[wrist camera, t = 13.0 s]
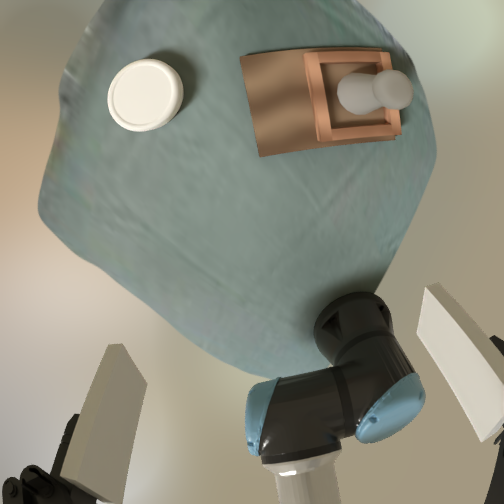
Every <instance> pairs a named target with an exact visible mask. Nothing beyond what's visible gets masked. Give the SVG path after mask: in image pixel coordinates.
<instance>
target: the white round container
mask: <svg viewBox="0 0 504 504" xmlns="http://www.w3.org/2000/svg"><path fill="white" fill-rule="evenodd" d="M182 100H183V84H182V81H181V78H180V76H179V75H178V73H177V72H176V71H175V70H174V69H173V68H172V67H170V66H169V65H168V64H166V63H164V62H162V61H160V60H156V59H142V60H138V61H135V62H133V63H130V64H129V65H127V66H125V67H124V68H123V69H122V70H121V71H120V72H119V73H118V74H117V75H116V76H115V78H114V79H113V81H112V83H111V85H110V88H109V92H108V107H109V110H110V113H111V115H112V117H113V118H114V120H115V121H116V122H117V123H118V124H119V125H120V126H122V127H124V128H126V129H128V130H131V131H148V130H153V129H156V128H159V127H161V126H163V125H165V124H166V123H168V122H169V121H170V120H171V119H172V118H173V117H174V116H175V115H176V113H177V112H178V110H179V108H180V106H181V103H182Z"/></svg>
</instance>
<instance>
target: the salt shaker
mask: <svg viewBox="0 0 504 504" xmlns="http://www.w3.org/2000/svg"><path fill="white" fill-rule="evenodd" d="M413 92H414V91H413V87H412V84H411V82H410V80H409V79H408V77H407V76H406V75H405V74H403V73H402V72H400V71H398V70H390V69H387V70H384V71H382V72H380V73H378V74H377V75H371V74H363V73H350V74H348V75H346V76H344V77H343V78H342V79H341V81H340V82H339V84H338V88H337V95H338V98H339V101H340V103H341V105H342V106H343V107H344V108H345V109H346V110H347V111H349V112H351V113H353V114H356V115H366V114H368V113H370V112H372V111H374V110H376V109H379V108H381V107H386V108H388V109H396V110H400V109H403V108H405V107H407V106H409V104H410V103H411V101H412V99H413Z"/></svg>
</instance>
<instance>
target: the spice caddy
mask: <svg viewBox="0 0 504 504" xmlns="http://www.w3.org/2000/svg"><path fill="white" fill-rule="evenodd" d="M240 63H241V68H242V73H243V77H244V82H245V87H246V92H247V97H248V102H249V107H250V111H251V116H252V122H253V127H254V132H255V137H256V142H257V147H258V152H259V156H260V157H264V156H270V155H276V154H281V153H288V152H294V151H300V150H307V149H314V148H322V147H329V146H337V145H346V144H355V143H365V142H376V141H389V140H395V135H402V134H401V124H400V115H399V110H396V109H388V108H386V107H381V108H379V109H376V110H374V111H372V112H370V113H368V114H366V115H356V114H353V113H351V112H349V111H347V110H346V109H345V108H344V107H343V106H342V105H341V103H340V101H339V98H338V95H337V88H338V84H339V82H340V81H341V79H342V78H343V77H344V76H346V75H348V74H350V73H363V74H371V75H377V74H378V73H380V72H382V71H384V70H387V69H390V70H393V69H392V64H391V59H390V54H389V52H382V49H381V48H362V47H334V48H310V49H296V50H286V51H276V52H268V53H261V54H254V55H248V56H242V57H240Z"/></svg>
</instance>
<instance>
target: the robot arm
mask: <svg viewBox="0 0 504 504" xmlns="http://www.w3.org/2000/svg"><path fill="white" fill-rule="evenodd" d="M417 335H418V337H419V338H420V340H421V341H422V343H423V344H424V346H425V347H426V349H427V350H428V352H429V353H430V355H431V356H432V358H433V359H434V361H435V363H436V364H437V366H438V367H439V369H440V370H441V372H442V374H443V375H444V377H445V379H446V380H447V382H448V384H449V385H450V387H451V388H452V390H453V392H454V394H455V395H456V397H457V399H458V401H459V402H460V404H461V406H462V408H463V409H464V411H465V413H466V415H467V417H468V418H469V420H470V422H471V424H472V426H473V428H474V430H475V432H476V433H477V435H478V437H479V439H480V441H481V442H482V441H484V440H486V439H487V438H489V437H490V436H491V435H493V434H495V433H496V432H497V431H498V430H499V428H500V427H501V426H503V427H504V341H503V340H501V339H499V338H498V337H496V336H495V335H494V336H492V337H490V338H488V337H487V335H486V334H485V333H484V332H483V331H482V329H481V328H480V327H479V326H478V325H477V324H476V322H475V321H474V320H473V319H472V318H471V317H470V316H469V314H468V313H467V312H466V311H465V310H464V309H463V308H462V307H461V306H460V305H459V303H458V302H457V301H456V300H455V299H454V298H453V297H452V296H451V295H450V294H449V293H448V292H447V291H446V290H445V289H444V287H443V286H442V285H441V284H440V283H436V284H432V285H429V286H425V291H424V297H423V303H422V309H421V314H420V319H419V324H418V329H417ZM314 338H315V341H316V344H317V347H318V349H319V351H320V352H321V353H322V354H323V355H324V356H325V357H326V359H327V360H328V361H329V362H330V363H331V364H332V365H333V367H329V368H325V369H321V370H317V371H313V372H308V373H304V374H299V375H294V376H289V377H284V378H281V377H278V378H276V379H274V380H270V381H266V382H261V383H258V384H256V385H254V386H253V387H252V388H251V390H250V391H249V394H248V397H247V403H246V411H245V432H246V439H247V443H248V450H249V452H250V453H251V454H252V455H255V456H260V455H261V459H262V465H263V467H265V468H266V469H268V470H269V471H271V472H272V473H273V474H275V479H276V485H277V491H278V497H279V503H280V504H341V500H340V495H339V488H338V483H337V477H336V472H335V467H334V462H335V460H336V459H337V457H338V456H339V454H340V453H341V451H342V448H341V443H340V439H343V438H346V437H350V436H353V435H355V437H356V438H357V440H359V441H360V442H361V443H366V444H367V443H375V442H378V441H381V440H383V439H385V438H388V437H390V436H392V435H393V434H395V433H396V432H398V431H400V430H401V429H402V428H404V427H405V426H406V425H408V424H409V423H410V422H411V421H412V420H413V419H414V418H415V417H416V416H417V415H418V413H419V412H420V411H421V409H422V407H423V405H424V403H425V391H424V388H423V386H422V384H421V381H420V378H419V375H418V374H417V373H416V372H415V370H414V368H413V366H412V365H411V363H410V361H409V360H408V358H407V356H406V355H405V353H404V351H403V350H402V348H401V346H400V345H399V343H398V341H397V340H396V338H395V336H394V331H393V325H392V318H391V313H390V311H389V309H388V307H387V305H386V304H385V302H384V301H383V300H382V299H381V298H380V297H378V296H377V295H375V294H372V293H368V292H357V293H352V294H348V295H345V296H343V297H341V298H339V299H337V300H335V301H334V302H332V303H331V304H330V305H328V306H327V307H326V308H325V309H324V310H323V311H322V313H321V314H320V315H319V317H318V319H317V321H316V323H315V326H314ZM146 387H147V382H146V381H145V379H144V378H143V376H142V375H141V373H140V371H139V370H138V368H137V367H136V365H135V364H134V362H133V360H132V359H131V357H130V355H129V354H128V352H127V350H126V349H125V347H124V345H123V344H112V345H108V347H107V349H106V351H105V354H104V356H103V358H102V360H101V363H100V365H99V367H98V370H97V372H96V375H95V377H94V380H93V382H92V385H91V387H90V390H89V392H88V394H87V397H86V400H85V402H84V405H83V407H82V410H81V413H80V414H74V415H73V417H72V418H71V419H70V420H69V422H68V423H67V426H66V429H65V432H64V435H63V437H62V440H61V444H60V445H59V449H58V451H57V454H56V457H55V460H54V464H53V467H52V470H51V472H50V475H49V474H48V473H46V472H45V471H44V470H42V469H41V468H40V467H38V466H36V465H29V466H27V467H26V468H24V469H23V471H22V473H21V475H20V480H18V479H17V478H15V477H10V478H8V479H7V480H6V481H5V482H4V484H3V489H2V496H3V504H96V500H97V499H98V500H100V501H102V502H104V503H106V504H122V502H123V496H124V490H125V485H126V479H127V474H128V468H129V463H130V458H131V453H132V448H133V443H134V439H135V434H136V430H137V425H138V421H139V416H140V412H141V407H142V404H143V399H144V395H145V391H146ZM500 439H501V442H500V443H499V445H500V447H499V452H498V457H497V461H496V466H495V470H494V473H493V477H492V480H491V484H490V487H489V491H488V494H487V497H486V500H485V503H484V504H504V430H503V431H502V433H501V434H500V435H499V436H498V437H497V438H496V440H495V442H494V444H497V443H498V442H499V440H500Z"/></svg>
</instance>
